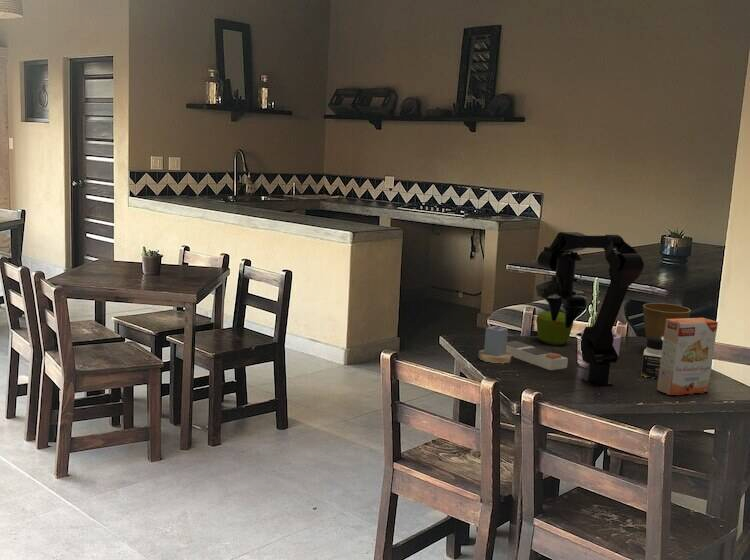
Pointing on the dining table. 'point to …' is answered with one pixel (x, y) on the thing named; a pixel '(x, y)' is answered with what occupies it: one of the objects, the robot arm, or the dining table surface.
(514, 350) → the power strip
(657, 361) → the medicine bottle
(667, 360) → the cracker box
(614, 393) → the dining table surface
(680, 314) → the plant pot
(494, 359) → the trivet
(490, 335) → the grey cylinder
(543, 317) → the apple
